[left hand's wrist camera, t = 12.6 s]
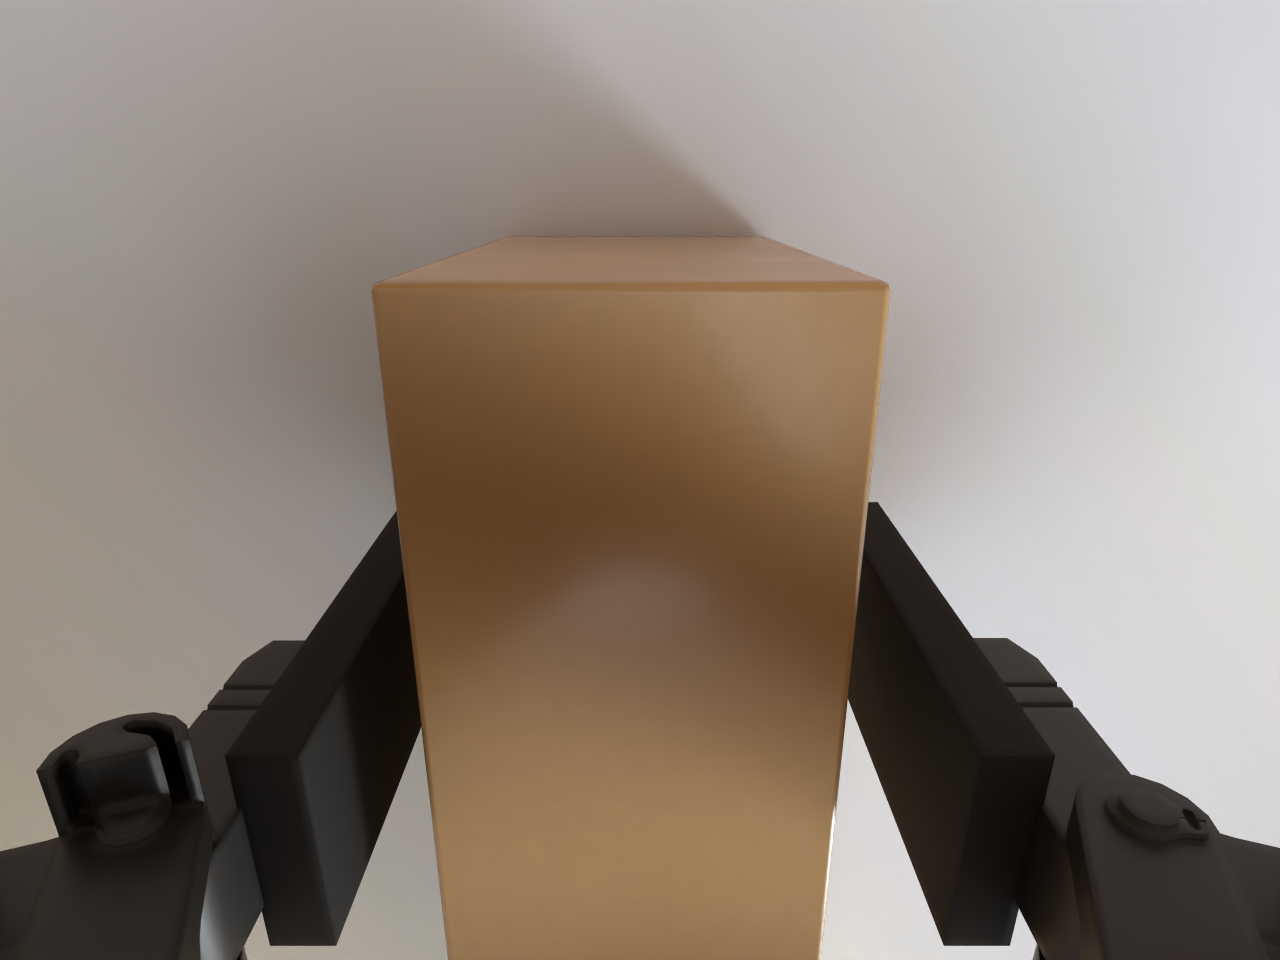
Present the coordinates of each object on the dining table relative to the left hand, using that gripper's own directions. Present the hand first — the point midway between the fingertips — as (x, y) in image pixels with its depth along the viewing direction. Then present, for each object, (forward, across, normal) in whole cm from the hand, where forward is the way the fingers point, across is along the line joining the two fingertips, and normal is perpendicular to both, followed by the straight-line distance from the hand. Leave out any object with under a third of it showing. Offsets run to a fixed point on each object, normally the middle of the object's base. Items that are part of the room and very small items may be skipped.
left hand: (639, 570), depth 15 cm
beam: (+2, 0, -21) cm, 21 cm away
